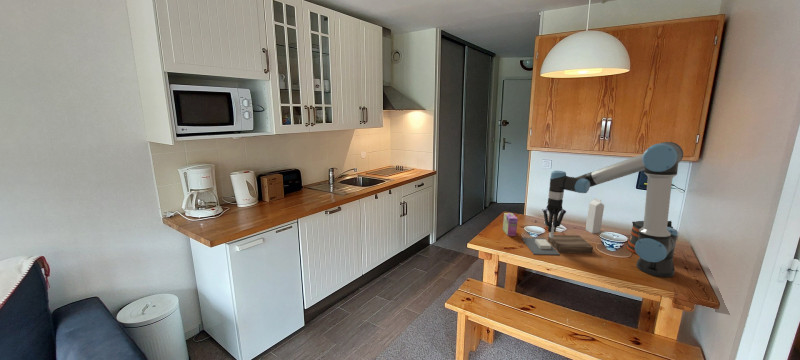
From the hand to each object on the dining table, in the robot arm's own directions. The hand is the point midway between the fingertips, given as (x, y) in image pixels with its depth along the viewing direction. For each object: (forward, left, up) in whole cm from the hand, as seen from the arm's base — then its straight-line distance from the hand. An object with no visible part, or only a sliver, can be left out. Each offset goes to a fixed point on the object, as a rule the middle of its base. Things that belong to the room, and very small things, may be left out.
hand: (551, 237), depth 189 cm
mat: (0, +6, -6) cm, 8 cm away
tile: (0, +4, -3) cm, 5 cm away
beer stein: (-4, -52, -6) cm, 53 cm away
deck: (0, -11, -6) cm, 12 cm away
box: (+20, +18, -6) cm, 28 cm away
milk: (+25, -37, -6) cm, 45 cm away
